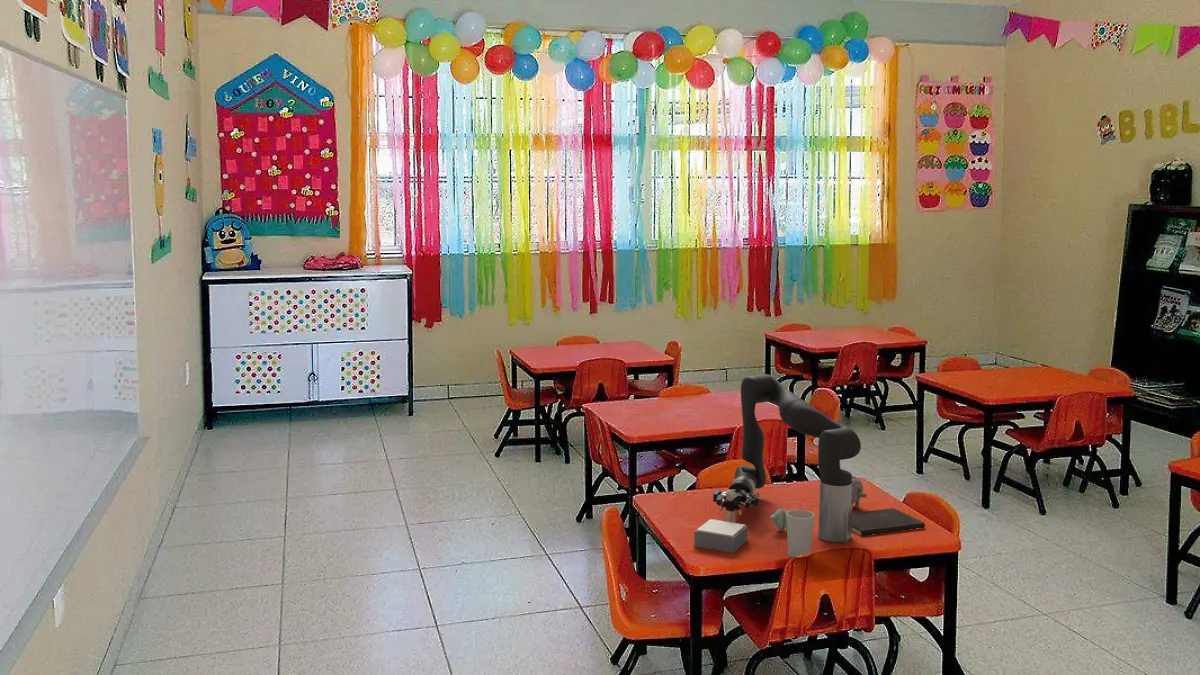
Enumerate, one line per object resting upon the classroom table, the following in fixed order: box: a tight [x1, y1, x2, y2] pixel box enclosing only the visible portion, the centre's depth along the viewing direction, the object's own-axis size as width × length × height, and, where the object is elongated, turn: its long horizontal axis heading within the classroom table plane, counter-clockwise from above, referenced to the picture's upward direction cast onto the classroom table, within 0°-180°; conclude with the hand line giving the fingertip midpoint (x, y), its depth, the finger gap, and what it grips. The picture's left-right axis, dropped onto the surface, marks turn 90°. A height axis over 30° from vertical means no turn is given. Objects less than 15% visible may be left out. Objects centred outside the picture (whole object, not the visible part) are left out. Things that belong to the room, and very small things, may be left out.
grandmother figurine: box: [719, 489, 743, 523], centre depth 319 cm, size 8×4×13 cm, turn 62°
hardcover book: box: [852, 507, 926, 537], centre depth 326 cm, size 16×23×2 cm
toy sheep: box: [851, 475, 867, 509], centre depth 343 cm, size 11×17×11 cm, turn 39°
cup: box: [786, 509, 816, 558], centre depth 298 cm, size 8×8×12 cm
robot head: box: [770, 508, 788, 531], centre depth 319 cm, size 8×4×7 cm, turn 104°
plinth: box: [693, 518, 748, 554], centre depth 307 cm, size 12×12×5 cm
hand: (732, 504), depth 323 cm, fingers open, 8 cm apart
